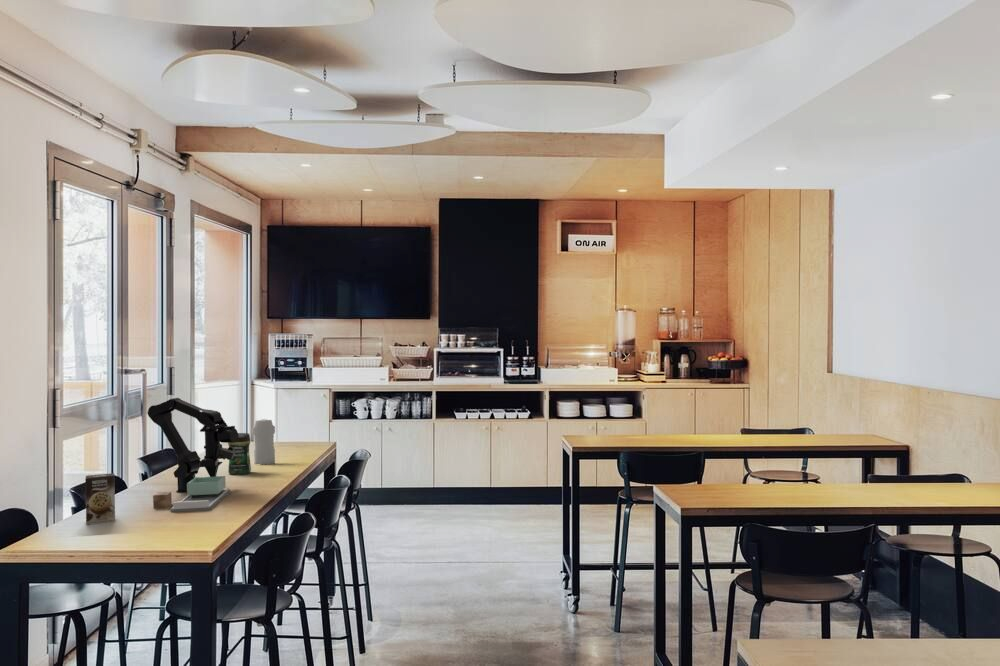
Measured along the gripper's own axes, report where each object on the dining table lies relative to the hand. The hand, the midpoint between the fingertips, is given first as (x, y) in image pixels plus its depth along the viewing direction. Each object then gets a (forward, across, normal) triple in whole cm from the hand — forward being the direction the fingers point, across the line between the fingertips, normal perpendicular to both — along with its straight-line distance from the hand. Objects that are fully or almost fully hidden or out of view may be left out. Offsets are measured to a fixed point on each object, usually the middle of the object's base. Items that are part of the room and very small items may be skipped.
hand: (213, 480), depth 306 cm
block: (+5, -22, +13) cm, 26 cm away
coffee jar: (+5, +38, -2) cm, 38 cm away
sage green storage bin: (+3, -10, 0) cm, 11 cm away
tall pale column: (+5, +59, -9) cm, 60 cm away
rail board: (+4, -18, 0) cm, 18 cm away
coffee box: (+5, -40, +28) cm, 49 cm away
